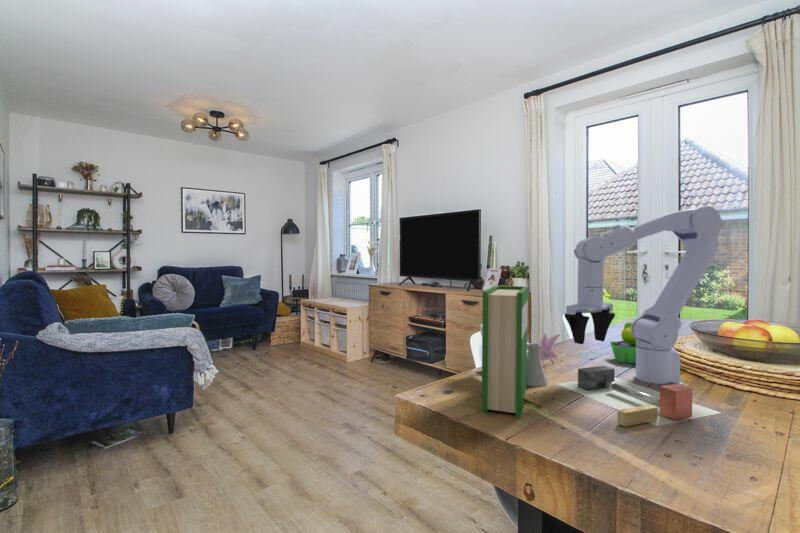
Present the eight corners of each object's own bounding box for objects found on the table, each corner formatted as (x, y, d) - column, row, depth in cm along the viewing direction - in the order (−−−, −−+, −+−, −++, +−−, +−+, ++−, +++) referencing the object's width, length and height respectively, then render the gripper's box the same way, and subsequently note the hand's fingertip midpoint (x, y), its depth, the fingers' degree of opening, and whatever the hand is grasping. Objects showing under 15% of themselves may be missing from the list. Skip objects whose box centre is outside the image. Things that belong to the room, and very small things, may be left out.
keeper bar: (649, 417, 74) (649, 404, 74) (657, 420, 73) (657, 407, 73) (617, 423, 72) (617, 410, 72) (624, 426, 70) (624, 413, 70)
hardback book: (520, 418, 77) (522, 293, 76) (481, 413, 79) (482, 291, 79) (526, 390, 93) (527, 286, 93) (494, 386, 96) (495, 285, 95)
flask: (552, 392, 92) (552, 348, 92) (519, 390, 93) (519, 347, 93) (547, 382, 99) (547, 342, 99) (516, 380, 100) (517, 340, 100)
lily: (527, 364, 120) (515, 337, 117) (566, 351, 116) (555, 324, 114) (533, 389, 108) (520, 360, 106) (577, 375, 105) (565, 345, 103)
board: (612, 380, 101) (612, 376, 101) (721, 418, 77) (721, 412, 77) (556, 388, 95) (556, 383, 95) (656, 431, 71) (656, 425, 71)
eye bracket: (603, 383, 95) (603, 365, 95) (614, 387, 92) (614, 369, 92) (577, 386, 92) (578, 368, 92) (587, 390, 90) (588, 372, 90)
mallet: (616, 389, 90) (616, 365, 90) (691, 417, 74) (692, 388, 74) (601, 391, 88) (601, 367, 88) (675, 420, 73) (675, 391, 73)
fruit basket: (614, 363, 117) (615, 324, 117) (608, 356, 125) (609, 320, 125) (659, 366, 114) (660, 327, 113) (650, 359, 122) (650, 322, 122)
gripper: (584, 289, 92) (583, 348, 92) (624, 287, 99) (623, 342, 99) (559, 286, 98) (558, 342, 99) (598, 285, 105) (598, 337, 105)
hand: (589, 342), depth 99 cm, fingers open, 7 cm apart
